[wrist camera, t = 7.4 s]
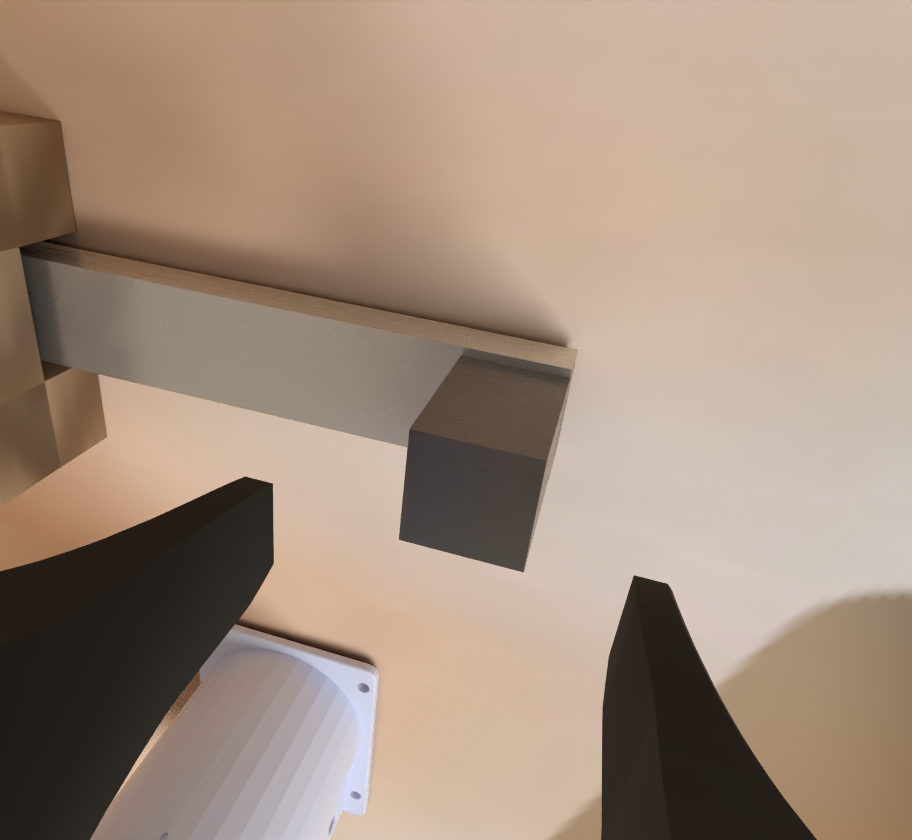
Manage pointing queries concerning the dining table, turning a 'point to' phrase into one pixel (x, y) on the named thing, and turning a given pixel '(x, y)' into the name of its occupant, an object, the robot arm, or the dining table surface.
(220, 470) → the dining table surface
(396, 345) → the grey l-shaped bar
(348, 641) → the dining table surface
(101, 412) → the bearing block
